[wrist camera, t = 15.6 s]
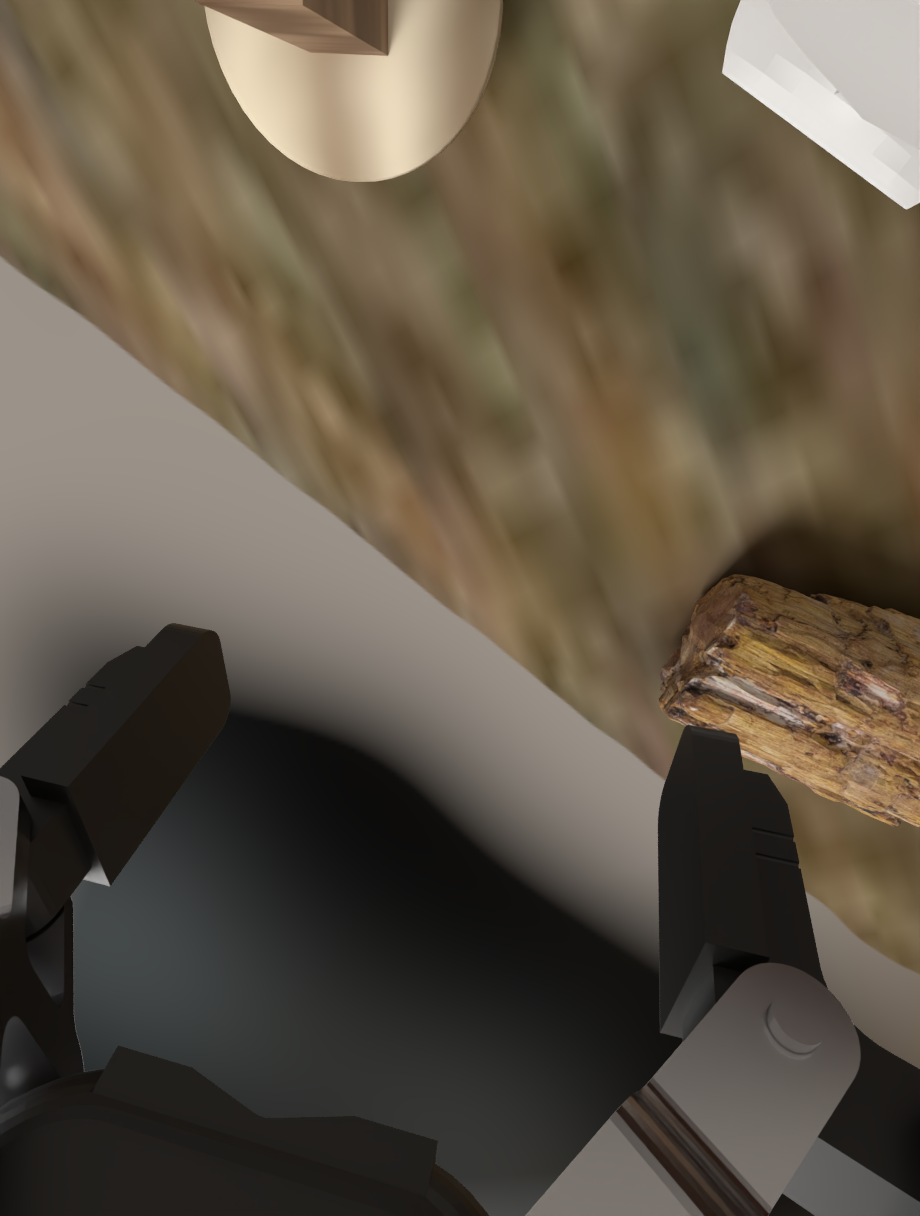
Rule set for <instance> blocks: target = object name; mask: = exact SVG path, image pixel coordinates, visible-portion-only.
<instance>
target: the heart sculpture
mask: <svg viewBox="0 0 920 1216" xmlns="http://www.w3.org/2000/svg"><path fill="white" fill-rule="evenodd" d="M722 73H723V74H724V75H725V76H727V77H728V78H730V79H731V80H732V81H734V82H735V83H736V84H738V85H739V86H740V87H742V88H743V89H744V90H746V91H747V92H748V93H750V94H751V95H752V96H754V97H755V98H756V99H758V100H759V101H760V102H762V103H763V104H765V105H766V106H767V107H769V108H770V109H771V110H773V111H774V112H775V113H777V114H778V115H779V116H781V117H782V118H783V119H785V120H786V121H787V122H789V123H790V124H791V125H793V126H794V127H795V128H797V129H798V130H800V131H801V132H802V133H804V134H805V135H806V136H808V137H809V138H810V139H812V140H813V141H814V142H816V143H817V144H818V145H820V146H821V147H822V148H824V149H825V150H826V151H828V152H829V153H830V154H832V155H833V156H834V157H836V158H837V159H839V160H840V161H841V162H843V163H844V164H845V165H847V166H848V167H849V168H851V169H852V170H853V171H855V172H856V173H857V174H859V175H860V176H861V177H863V178H864V179H865V180H867V181H868V182H869V183H871V184H872V185H874V186H875V187H876V188H878V189H879V190H880V191H882V192H883V193H884V194H886V195H887V196H888V197H890V198H891V199H892V200H894V201H895V202H896V203H898V204H899V205H900V206H902V207H903V208H904V209H906V210H907V209H909V208H911V207H912V206H914V205H916V204H918V203H920V0H741V1H740V4H739V6H738V9H737V11H736V14H735V16H734V19H733V22H732V25H731V29H730V34H729V38H728V42H727V46H726V52H725V58H724V65H723V71H722Z"/></svg>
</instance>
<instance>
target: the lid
mask: <svg viewBox="0 0 920 1216" xmlns="http://www.w3.org/2000/svg"><path fill="white" fill-rule="evenodd" d="M195 1H196V2H197V3H199V4H201V5H204V6H205V11H206V17H207V23H208V27H209V31H210V35H211V39H212V43H213V46H214V49H215V52H216V55H217V58H218V61H219V63H220V66H221V69H222V71H223V73H224V75H225V78H226V80H227V82H228V84H229V86H230V88H231V90H232V92H233V94H234V96H235V97H236V99H237V101H238V102H239V104H240V106H241V107H242V109H243V111H244V112H245V113H246V115H247V116H248V117H249V119H250V120H251V121H252V123H253V124H254V125H255V127H256V128H257V129H258V130H259V131H260V132H261V133H262V134H263V135H264V137H265V138H266V139H267V140H268V141H269V142H270V143H271V144H272V145H273V146H275V147H276V148H277V149H278V150H279V151H281V152H282V153H283V154H284V155H285V156H287V157H288V158H290V159H291V160H293V161H294V162H296V163H298V164H299V165H301V166H302V167H304V168H307V169H309V170H311V171H313V172H315V173H317V174H320V175H323V176H326V177H330V178H333V179H337V180H344V181H351V182H367V181H382V180H387V179H393V178H396V177H399V176H402V175H405V174H407V173H410V172H412V171H414V170H416V169H418V168H420V167H421V166H423V165H425V164H427V163H428V162H429V161H431V160H432V159H433V158H435V157H436V156H437V155H439V154H440V153H441V152H442V151H443V150H444V149H445V148H446V147H447V146H448V145H449V144H450V143H451V142H452V141H453V140H454V139H455V138H456V137H457V136H458V134H459V133H460V132H461V130H462V129H463V128H464V127H465V125H466V124H467V122H468V121H469V119H470V118H471V116H472V114H473V113H474V111H475V109H476V108H477V106H478V104H479V102H480V99H481V97H482V95H483V93H484V91H485V88H486V86H487V84H488V81H489V78H490V75H491V72H492V69H493V66H494V63H495V58H496V54H497V49H498V44H499V40H500V33H501V24H502V15H503V0H195Z"/></svg>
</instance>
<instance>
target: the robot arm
mask: <svg viewBox="0 0 920 1216" xmlns="http://www.w3.org/2000/svg"><path fill="white" fill-rule="evenodd" d="M230 701H231V698H230V690H229V685H228V680H227V674H226V669H225V664H224V659H223V653H222V649H221V643H220V639H219V636H218V635H217V633H216V632H214V631H212V630H206V629H201V628H196V627H191V626H186V625H181V624H176V623H172V624H169V625H167V626H165V627H164V628H163V629H162V630H161V631H160V632H159V633H158V634H157V635H156V636H155V637H154V638H153V639H152V641H151V642H150V643H149V644H148V645H147V646H146V647H140V646H136V647H134V648H132V649H131V650H129V651H127V652H125V653H123V654H122V655H120V656H118V657H116V658H114V659H113V660H111V661H109V662H107V663H106V664H105V665H104V666H103V668H102V669H100V670H99V671H98V672H97V673H96V674H95V675H94V676H93V677H92V678H91V679H90V680H89V681H88V682H87V683H86V687H85V688H81V689H80V690H79V691H78V692H77V693H76V694H75V695H74V696H73V697H72V698H71V699H70V700H69V704H68V705H67V706H65V705H64V706H63V707H62V708H61V709H60V710H59V711H58V712H57V713H56V714H55V715H54V716H53V717H52V718H51V719H50V720H49V721H48V722H47V723H46V724H45V725H44V726H43V727H42V728H41V729H40V730H39V731H38V732H37V733H36V734H35V735H34V736H33V737H32V738H31V739H30V740H29V741H27V742H26V743H25V744H24V745H23V746H22V747H21V748H20V749H19V750H18V751H17V752H16V754H15V755H13V756H12V757H11V758H10V760H8V761H7V762H6V763H5V764H4V765H3V766H2V767H1V768H0V1216H489V1215H488V1213H487V1212H486V1211H485V1210H484V1208H483V1207H482V1206H481V1205H480V1204H479V1202H478V1201H477V1200H476V1199H475V1197H474V1196H473V1195H472V1194H471V1192H469V1191H468V1190H467V1189H466V1188H465V1187H464V1186H463V1185H462V1184H461V1183H460V1182H459V1181H458V1180H457V1179H456V1178H454V1176H452V1175H451V1174H449V1173H448V1172H447V1171H445V1170H444V1169H443V1168H441V1167H440V1166H438V1165H437V1164H436V1154H437V1144H438V1141H436V1140H433V1139H429V1138H426V1137H423V1136H420V1135H416V1134H412V1133H409V1132H406V1131H403V1130H399V1129H396V1128H393V1127H389V1126H386V1125H382V1124H379V1123H376V1122H373V1121H369V1120H366V1119H362V1118H359V1117H355V1116H343V1117H301V1118H264V1117H261V1116H258V1115H257V1114H255V1113H253V1112H252V1111H251V1110H249V1109H248V1108H247V1107H245V1106H244V1105H242V1104H241V1103H240V1102H238V1101H237V1100H236V1099H234V1098H233V1097H231V1096H230V1095H229V1094H227V1093H226V1092H225V1091H223V1090H222V1089H221V1088H219V1087H218V1086H217V1085H215V1084H214V1083H212V1082H211V1081H210V1080H208V1079H207V1078H206V1077H204V1076H203V1075H202V1074H200V1073H199V1072H197V1071H196V1070H195V1069H193V1068H191V1067H188V1066H185V1065H181V1064H178V1063H174V1062H171V1061H168V1060H165V1059H161V1058H158V1057H154V1056H151V1055H148V1054H144V1053H141V1052H138V1051H134V1050H131V1049H128V1048H124V1047H121V1046H118V1047H117V1048H116V1050H115V1052H114V1054H113V1055H112V1057H111V1059H110V1060H109V1062H108V1064H107V1066H106V1067H105V1069H98V1070H93V1071H86V1072H84V1065H83V1058H82V1052H81V1048H80V1044H79V1040H78V1037H77V1033H76V1028H75V1020H74V942H73V939H74V938H73V937H74V931H73V901H72V899H71V894H72V893H73V892H74V890H75V889H76V888H77V886H78V885H79V884H80V883H81V881H82V880H83V879H84V880H88V881H92V882H95V883H99V884H103V885H107V886H111V885H112V883H113V882H114V880H115V878H116V877H117V876H118V874H119V873H120V872H121V870H122V869H123V868H124V866H125V865H126V863H127V862H128V861H129V859H130V858H131V856H132V855H133V854H134V852H135V851H136V849H137V848H138V846H139V845H140V844H141V842H142V841H143V839H144V838H145V837H146V835H147V834H148V832H149V831H150V830H151V828H152V827H153V825H154V824H155V822H156V821H157V820H158V818H159V817H160V816H161V814H162V813H163V811H164V810H165V808H166V807H167V806H168V804H169V803H170V801H171V800H172V799H173V797H174V796H175V794H176V793H177V792H178V790H179V789H180V787H181V786H182V784H183V783H184V782H185V780H186V779H187V777H188V776H189V775H190V773H191V772H192V770H193V769H194V767H195V766H196V765H197V763H198V762H199V761H200V759H201V758H202V756H203V755H204V754H205V752H206V751H207V749H208V748H209V746H210V745H211V744H212V742H213V741H214V739H215V738H216V737H217V735H218V734H219V732H220V731H221V729H222V728H223V726H224V724H225V722H226V719H227V717H228V713H229V709H230ZM793 837H794V834H793V829H792V824H791V819H790V814H789V809H788V804H787V803H786V801H785V800H784V798H783V797H782V795H781V794H780V792H779V791H778V789H777V788H776V786H775V785H774V783H773V782H772V780H771V779H770V777H769V776H768V775H767V774H762V773H757V772H752V771H747V770H743V763H742V756H741V749H740V743H739V739H738V736H737V735H736V734H734V733H729V732H724V731H719V730H714V729H709V728H703V727H698V726H693V725H686V727H685V728H684V730H683V733H682V735H681V738H680V741H679V744H678V747H677V750H676V753H675V756H674V758H673V761H672V764H671V767H670V770H669V773H668V776H667V779H666V781H665V784H664V788H663V791H662V795H661V801H660V807H659V816H658V882H659V975H660V1033H664V1034H668V1035H672V1036H676V1037H680V1038H683V1043H682V1044H681V1045H680V1046H679V1047H678V1049H677V1050H676V1051H675V1052H674V1053H673V1054H672V1055H671V1057H670V1058H669V1059H668V1060H667V1061H666V1062H665V1064H664V1065H663V1066H662V1067H661V1068H660V1069H659V1071H658V1072H657V1073H656V1074H655V1075H654V1076H653V1078H652V1079H651V1080H650V1081H649V1082H648V1083H647V1084H646V1085H645V1086H644V1088H642V1089H641V1090H640V1091H639V1092H635V1093H634V1094H632V1095H631V1096H630V1097H629V1098H628V1099H627V1100H626V1101H625V1102H624V1103H623V1104H622V1105H621V1106H620V1107H619V1108H618V1109H617V1110H616V1112H615V1113H614V1114H613V1115H612V1116H611V1117H610V1118H609V1119H608V1121H607V1122H606V1123H605V1124H604V1125H603V1126H602V1128H601V1129H600V1130H599V1131H598V1132H597V1133H596V1135H595V1136H594V1137H593V1138H592V1139H591V1140H590V1141H589V1143H588V1144H587V1145H586V1146H585V1147H584V1148H583V1150H582V1151H581V1152H580V1153H579V1154H578V1155H577V1156H576V1158H575V1159H574V1160H573V1161H572V1162H571V1163H570V1165H569V1166H568V1167H567V1168H566V1169H565V1170H564V1171H563V1173H562V1174H561V1175H560V1176H559V1177H558V1178H557V1180H556V1181H555V1182H554V1183H553V1184H552V1185H551V1187H550V1188H549V1189H548V1190H547V1191H546V1193H545V1194H544V1195H543V1196H542V1197H541V1198H540V1199H539V1200H538V1202H537V1203H536V1204H535V1205H534V1206H533V1207H532V1208H531V1210H530V1211H529V1212H528V1213H527V1214H526V1215H525V1216H768V1215H769V1213H770V1211H771V1210H772V1208H773V1207H774V1205H775V1203H776V1202H777V1200H778V1199H779V1197H780V1195H781V1194H782V1193H783V1194H784V1195H786V1196H787V1197H789V1198H790V1199H792V1200H793V1201H795V1202H796V1203H797V1204H799V1205H801V1206H802V1207H803V1208H805V1209H806V1210H808V1211H809V1212H811V1213H812V1214H814V1215H815V1216H920V1069H918V1068H917V1067H915V1066H913V1065H911V1064H910V1063H908V1062H906V1061H904V1060H902V1059H901V1058H899V1057H897V1056H895V1055H894V1054H892V1053H890V1052H888V1051H887V1050H885V1049H884V1048H882V1047H881V1046H879V1045H877V1044H876V1043H875V1042H873V1041H872V1040H871V1039H869V1038H868V1037H867V1036H866V1035H864V1034H863V1033H862V1032H861V1031H860V1030H859V1029H858V1028H857V1027H856V1026H855V1025H854V1024H853V1022H852V1020H851V1018H850V1016H849V1014H848V1013H847V1011H846V1010H845V1008H844V1007H843V1006H842V1004H841V1003H840V1001H839V1000H838V999H837V998H836V997H835V996H834V994H832V992H831V991H830V990H828V988H827V985H826V983H825V981H824V978H823V975H822V971H821V968H820V963H819V958H818V953H817V948H816V943H815V939H814V933H813V928H812V923H811V918H810V914H809V908H808V903H807V898H806V893H805V888H804V883H803V879H802V874H801V869H799V868H798V864H799V859H798V854H797V849H796V844H795V842H793Z"/></svg>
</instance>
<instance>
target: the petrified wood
mask: <svg viewBox="0 0 920 1216" xmlns="http://www.w3.org/2000/svg"><path fill="white" fill-rule="evenodd" d="M661 680H662V681H663V683H662V684H661V689H660V690H661V691H662V692H663V694H662V696H661V697H660V698H659V706H660V708H661V710H662V711H663V712H664V713H665V714H666V715H667V716H668V717H669V719H671V720H674V721H676V722H679V723H681V724H683V725H685V726H686V725H693V726H698V727H703V728H709V729H714V730H719V731H724V732H729V733H734V734H736V735H737V736H738V739H739V743H740V749H741V756H743V757H745V758H748V759H750V760H752V761H755V762H758V763H760V764H763V765H765V766H767V767H769V768H770V769H772V770H774V771H776V772H778V773H780V774H782V775H784V776H786V777H788V778H791V779H793V780H795V781H798V782H800V783H802V784H804V785H806V786H808V787H809V788H810V789H812V790H813V791H814V792H815V793H817V794H819V795H821V796H823V797H825V798H828V799H830V800H833V801H835V802H842V803H845V804H847V805H849V806H851V807H853V808H855V809H857V810H858V811H860V812H862V813H864V814H866V815H868V816H871V817H873V818H875V819H878V820H880V821H882V822H885V823H887V824H889V825H892V826H894V827H897V826H899V825H900V824H901V823H902V822H903V821H906V822H909V823H911V824H913V825H914V826H920V619H917V618H914V617H912V616H908V615H905V614H903V613H901V612H899V611H897V610H894V609H892V608H888V609H884V610H883V609H881V608H879V607H877V606H872V607H867V606H864V605H862V604H859V603H856V602H853V601H849V600H845V599H842V598H837V597H833V596H830V595H826V594H817V595H815V594H811V596H810V597H808V596H805V595H803V594H801V593H799V592H797V591H795V590H791V589H788V588H785V587H782V586H780V585H778V584H775V583H773V582H769V581H766V580H763V579H760V578H757V577H752V576H744V575H737V574H733V575H731V576H729V577H727V578H723V579H722V580H721V581H720V582H719V583H718V584H717V585H716V586H714V587H712V588H711V589H710V591H708V592H707V593H706V594H705V596H704V597H702V598H701V599H700V600H699V601H697V602H696V605H695V609H694V612H693V614H692V617H691V625H688V628H687V631H686V632H685V633H684V634H683V637H682V646H681V648H680V649H677V650H675V651H673V653H672V655H671V657H670V659H669V661H668V662H667V663H666V664H665V665H664V666H663V667H662V668H661Z"/></svg>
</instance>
